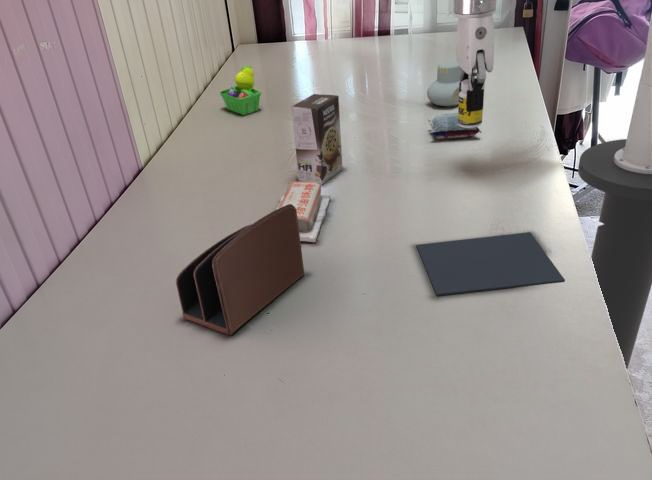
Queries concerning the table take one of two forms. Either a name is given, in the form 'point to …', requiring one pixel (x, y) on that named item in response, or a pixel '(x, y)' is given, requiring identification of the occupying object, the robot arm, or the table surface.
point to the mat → (487, 264)
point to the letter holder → (242, 272)
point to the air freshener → (445, 85)
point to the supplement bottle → (466, 117)
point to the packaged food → (450, 127)
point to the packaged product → (306, 207)
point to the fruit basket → (242, 93)
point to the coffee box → (317, 137)
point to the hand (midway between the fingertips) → (470, 105)
